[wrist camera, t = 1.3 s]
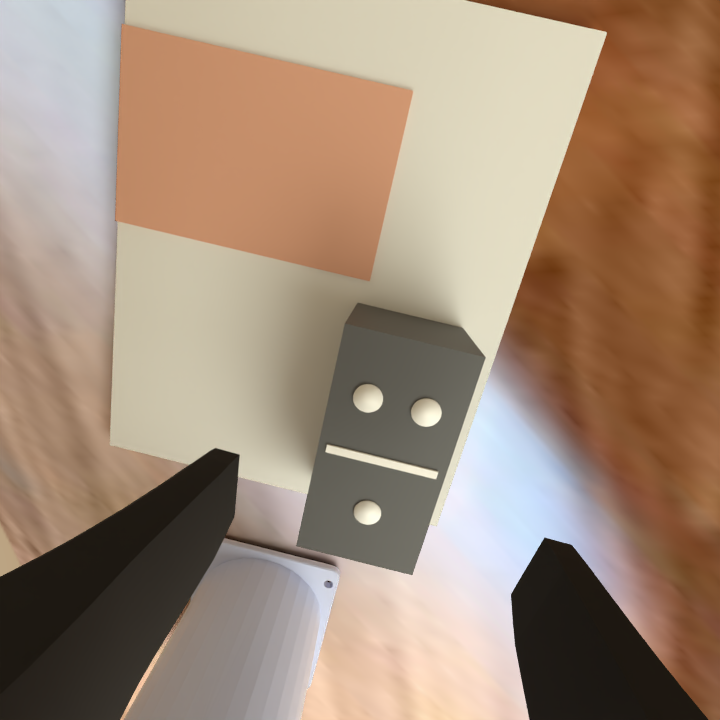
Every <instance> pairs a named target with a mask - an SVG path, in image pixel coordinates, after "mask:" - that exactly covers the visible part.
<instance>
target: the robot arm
mask: <svg viewBox="0 0 720 720" xmlns="http://www.w3.org/2000/svg"><path fill="white" fill-rule="evenodd" d="M239 458H240V454H236V453H232V452H229V451H225V450H221V449H218V448H214V449H212V450H210V451H209V452H207V453H206V454H205V455H203V456H202V457H200V458H199V459H197V460H196V461H194V462H193V463H192V464H190V465H189V466H187V467H186V468H184V469H183V470H181V471H180V472H178V473H177V474H175V475H174V476H173V477H171V478H170V479H168V480H167V481H165V482H164V483H162V484H161V485H159V486H158V487H156V488H154V489H153V490H151V491H150V492H148V493H147V494H145V495H144V496H142V497H141V498H139V499H137V500H136V501H134V502H133V503H131V504H130V505H128V506H127V507H125V508H123V509H122V510H120V511H118V512H117V513H115V514H113V515H112V516H110V517H108V518H107V519H105V520H103V521H102V522H100V523H98V524H97V525H95V526H93V527H92V528H90V529H88V530H86V531H85V532H83V533H81V534H80V535H78V536H76V537H74V538H73V539H71V540H69V541H67V542H66V543H64V544H62V545H60V546H58V547H56V548H55V549H53V550H51V551H49V552H47V553H45V554H43V555H42V556H40V557H38V558H36V559H34V560H32V561H30V562H28V563H26V564H24V565H22V566H20V567H18V568H16V569H15V570H13V571H11V572H9V573H7V574H5V575H3V576H1V577H0V720H120V719H121V717H122V715H123V713H124V711H125V709H126V707H127V705H128V703H129V701H130V699H131V697H132V695H133V693H134V691H135V689H136V688H137V686H138V684H139V682H140V680H141V679H142V677H143V675H144V673H145V672H146V670H147V668H148V666H149V665H150V663H151V661H152V659H153V658H154V656H155V654H156V653H157V651H158V650H159V648H160V646H161V645H162V643H163V641H164V640H165V638H166V637H167V635H168V633H169V632H170V630H171V629H172V627H173V625H174V624H175V622H176V620H177V619H178V617H179V616H180V614H181V612H182V611H183V609H184V607H185V606H186V604H187V603H188V601H189V599H190V598H191V601H190V604H189V606H188V607H187V609H186V611H185V613H184V614H183V616H182V618H181V620H180V621H179V623H178V625H177V627H176V628H175V630H174V632H173V634H172V635H171V637H170V639H169V641H168V643H167V644H166V646H165V648H164V650H163V651H162V653H161V655H160V657H159V658H158V660H157V662H156V664H155V665H154V667H153V669H152V671H151V672H150V674H149V676H148V678H147V679H146V681H145V683H144V685H143V687H142V688H141V690H140V692H139V694H138V695H137V697H136V699H135V701H134V702H133V704H132V706H131V708H130V709H129V711H128V713H127V715H126V716H125V718H124V720H301V717H302V712H303V707H304V702H305V697H306V692H307V689H308V688H309V687H310V686H311V682H312V679H313V675H314V671H315V668H316V664H317V660H318V656H319V653H320V649H321V645H322V641H323V638H324V634H325V630H326V626H327V623H328V619H329V615H330V611H331V608H332V604H333V600H334V596H335V593H336V589H337V585H338V581H339V577H340V571H339V569H338V568H337V567H336V566H333V565H329V564H325V563H322V562H318V561H314V560H310V559H306V558H302V557H298V556H294V555H290V554H286V553H282V552H278V551H274V550H270V549H266V548H262V547H258V546H254V545H250V544H246V543H242V542H238V541H234V540H230V539H226V538H225V536H226V533H227V531H228V529H229V527H230V525H231V523H232V520H233V518H234V515H235V504H236V492H237V481H238V469H239ZM327 581H331V582H327ZM511 600H512V615H513V627H514V638H515V647H516V652H517V658H518V663H519V668H520V673H521V679H522V684H523V689H524V694H525V699H526V704H527V709H528V714H529V719H530V720H708V719H707V717H706V716H705V715H704V714H703V713H702V711H701V710H700V709H699V708H698V707H697V705H696V704H695V703H694V702H693V701H692V699H691V698H690V697H689V696H688V695H687V693H686V692H685V691H684V690H683V688H682V687H681V686H680V685H679V684H678V682H677V681H676V680H675V678H674V677H673V676H672V675H671V673H670V672H669V671H668V670H667V668H666V667H665V666H664V665H663V663H662V662H661V661H660V660H659V658H658V657H657V656H656V655H655V653H654V652H653V651H652V649H651V648H650V647H649V646H648V644H647V643H646V642H645V640H644V639H643V638H642V636H641V635H640V634H639V633H638V631H637V630H636V629H635V627H634V626H633V625H632V623H631V622H630V621H629V619H628V618H627V617H626V616H625V614H624V613H623V612H622V610H621V609H620V608H619V606H618V605H617V604H616V602H615V601H614V600H613V598H612V597H611V596H610V594H609V593H608V592H607V590H606V589H605V588H604V586H603V585H602V584H601V582H600V581H599V580H598V578H597V577H596V576H595V574H594V573H593V572H592V570H591V569H590V568H589V566H588V565H587V564H586V562H585V561H584V560H583V559H582V557H581V556H580V555H579V553H578V552H577V551H576V550H575V548H574V547H573V546H572V545H570V544H566V543H562V542H559V541H555V540H551V539H548V538H544V540H543V541H542V543H541V545H540V546H539V548H538V550H537V551H536V553H535V555H534V556H533V558H532V560H531V562H530V563H529V565H528V567H527V568H526V570H525V572H524V573H523V575H522V577H521V578H520V580H519V582H518V584H517V585H516V587H515V589H514V590H513V592H512V594H511Z"/></svg>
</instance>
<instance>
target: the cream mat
mask: <svg viewBox="0 0 720 720" xmlns="http://www.w3.org/2000/svg"><path fill="white" fill-rule="evenodd" d="M606 34H607V32H604V31H599V30H595V29H590V28H586V27H581V26H577V25H572V24H568V23H564V22H559V21H555V20H550V19H546V18H541V17H537V16H533V15H528V14H524V13H519V12H515V11H510V10H506V9H501V8H497V7H493V6H488V5H484V4H479V3H475V2H470V1H466V0H126V1H125V24H122V32H121V62H120V92H119V121H118V151H117V181H116V211H115V221H118V227H117V255H116V283H115V311H114V339H113V368H112V396H111V424H110V445H111V446H116V447H120V448H124V449H128V450H132V451H136V452H140V453H144V454H148V455H152V456H156V457H160V458H164V459H168V460H172V461H176V462H180V463H184V464H188V465H190V464H192V463H193V462H194V461H196V460H197V459H199V458H200V457H202V456H203V455H205V454H206V453H207V452H209V451H210V450H212V449H214V448H218V449H221V450H225V451H229V452H232V453H236V454H240V458H239V469H238V477H240V478H244V479H248V480H252V481H256V482H260V483H264V484H268V485H272V486H276V487H280V488H284V489H288V490H293V491H297V492H301V493H305V494H308V490H309V485H310V481H311V476H312V472H313V467H314V462H315V458H316V453H317V449H318V444H319V439H320V435H321V430H322V426H323V421H324V416H325V412H326V407H327V403H328V398H329V393H330V389H331V384H332V380H333V375H334V370H335V366H336V361H337V357H338V352H339V347H340V343H341V338H342V334H343V329H344V324H345V322H346V321H347V319H348V317H349V316H350V314H351V312H352V311H353V309H354V308H355V306H356V304H357V303H362V304H366V305H370V306H374V307H378V308H383V309H387V310H391V311H395V312H399V313H403V314H408V315H412V316H416V317H420V318H424V319H428V320H433V321H437V322H441V323H445V324H449V325H453V326H458V327H462V328H463V329H464V330H465V331H466V333H467V334H468V335H469V336H470V338H471V339H472V340H473V342H474V343H475V344H476V345H477V347H478V348H479V349H480V351H481V352H482V353H483V354H484V356H485V357H486V358H485V361H484V364H483V367H482V370H481V373H480V376H479V379H478V382H477V385H476V388H475V391H474V394H473V397H472V400H471V403H470V406H469V409H468V411H467V414H466V417H465V420H464V423H463V426H462V429H461V432H460V435H459V438H458V441H457V444H456V447H455V450H454V453H453V456H452V459H451V462H450V465H449V468H448V471H447V474H446V477H445V480H444V482H443V485H442V488H441V491H440V494H439V497H438V500H437V503H436V506H435V509H434V512H433V515H432V518H431V521H430V524H429V525H433V526H437V523H438V521H439V518H440V515H441V512H442V509H443V506H444V503H445V500H446V497H447V495H448V492H449V489H450V486H451V483H452V480H453V477H454V474H455V471H456V468H457V466H458V463H459V460H460V457H461V454H462V451H463V448H464V445H465V442H466V440H467V437H468V434H469V431H470V428H471V425H472V422H473V419H474V416H475V413H476V411H477V408H478V405H479V402H480V399H481V396H482V393H483V390H484V387H485V384H486V382H487V379H488V376H489V373H490V370H491V367H492V364H493V361H494V358H495V356H496V353H497V350H498V347H499V344H500V341H501V338H502V335H503V332H504V329H505V327H506V324H507V321H508V318H509V315H510V312H511V309H512V306H513V303H514V301H515V298H516V295H517V292H518V289H519V286H520V283H521V280H522V277H523V274H524V272H525V269H526V266H527V263H528V260H529V257H530V254H531V251H532V248H533V246H534V243H535V240H536V237H537V234H538V231H539V228H540V225H541V222H542V219H543V217H544V214H545V211H546V208H547V205H548V202H549V199H550V196H551V193H552V191H553V188H554V185H555V182H556V179H557V176H558V173H559V170H560V167H561V164H562V162H563V159H564V156H565V153H566V150H567V147H568V144H569V141H570V138H571V136H572V133H573V130H574V127H575V124H576V121H577V118H578V115H579V112H580V109H581V107H582V104H583V101H584V98H585V95H586V92H587V89H588V86H589V83H590V81H591V78H592V75H593V72H594V69H595V66H596V63H597V60H598V57H599V54H600V52H601V49H602V46H603V43H604V40H605V37H606Z"/></svg>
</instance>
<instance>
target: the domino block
mask: <svg viewBox="0 0 720 720" xmlns="http://www.w3.org/2000/svg"><path fill="white" fill-rule="evenodd" d="M485 358H486V357H485V356H484V354H483V353H482V352H481V351H480V349H479V348H478V347H477V345H476V344H475V343H474V342H473V340H472V339H471V338H470V336H469V335H468V334H467V333H466V331H465V330H464V329H463V328H462V327H458V326H453V325H449V324H445V323H441V322H437V321H433V320H428V319H424V318H420V317H416V316H412V315H408V314H403V313H399V312H395V311H391V310H387V309H383V308H378V307H374V306H370V305H366V304H362V303H357V304H356V306H355V308H354V309H353V311H352V312H351V314H350V316H349V317H348V319H347V321H346V322H345V324H344V329H343V334H342V338H341V343H340V347H339V352H338V357H337V361H336V366H335V370H334V375H333V380H332V384H331V389H330V393H329V398H328V403H327V407H326V412H325V416H324V421H323V426H322V430H321V435H320V439H319V444H318V449H317V453H316V458H315V462H314V467H313V472H312V476H311V481H310V485H309V490H308V494H307V499H306V504H305V508H304V513H303V517H302V522H301V527H300V531H299V536H298V540H297V545H296V546H298V547H302V548H306V549H310V550H314V551H318V552H322V553H326V554H330V555H334V556H338V557H342V558H346V559H350V560H354V561H358V562H362V563H366V564H370V565H374V566H378V567H382V568H386V569H390V570H394V571H398V572H402V573H406V574H410V575H412V574H413V571H414V568H415V565H416V562H417V559H418V556H419V553H420V551H421V548H422V545H423V542H424V539H425V536H426V533H427V530H428V527H429V524H430V521H431V518H432V515H433V512H434V509H435V506H436V503H437V500H438V497H439V494H440V491H441V488H442V485H443V482H444V480H445V477H446V474H447V471H448V468H449V465H450V462H451V459H452V456H453V453H454V450H455V447H456V444H457V441H458V438H459V435H460V432H461V429H462V426H463V423H464V420H465V417H466V414H467V411H468V409H469V406H470V403H471V400H472V397H473V394H474V391H475V388H476V385H477V382H478V379H479V376H480V373H481V370H482V367H483V364H484V361H485Z"/></svg>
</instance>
